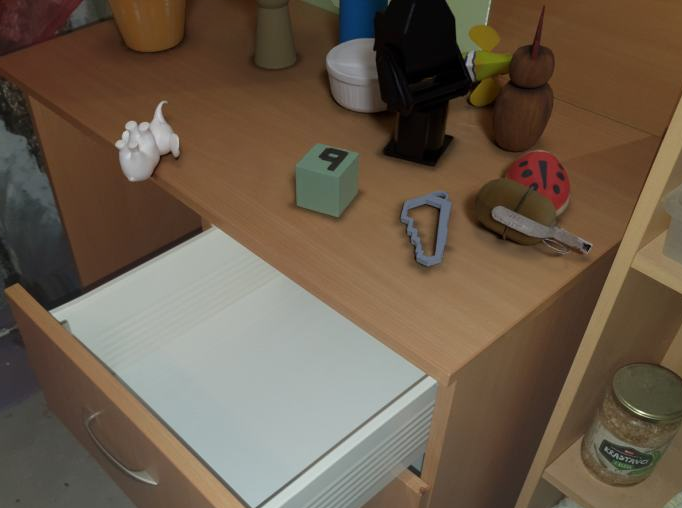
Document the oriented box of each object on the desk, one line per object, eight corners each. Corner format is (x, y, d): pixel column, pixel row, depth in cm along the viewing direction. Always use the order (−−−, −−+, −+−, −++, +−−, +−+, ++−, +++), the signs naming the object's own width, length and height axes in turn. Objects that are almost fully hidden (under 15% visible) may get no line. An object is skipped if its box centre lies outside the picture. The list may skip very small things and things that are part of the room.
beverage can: (384, 48, 104) (390, -42, 95) (384, 69, 99) (390, -24, 91) (339, 48, 105) (340, -41, 96) (337, 68, 100) (338, -24, 91)
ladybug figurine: (560, 168, 80) (569, 141, 77) (574, 228, 74) (585, 200, 71) (498, 165, 80) (506, 138, 78) (507, 224, 74) (515, 196, 71)
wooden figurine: (506, 124, 88) (531, -4, 77) (551, 138, 85) (583, 7, 75) (479, 148, 84) (501, 17, 74) (524, 164, 82) (555, 30, 71)
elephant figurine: (131, 81, 84) (149, 124, 90) (88, 154, 79) (109, 195, 84) (188, 85, 82) (203, 128, 87) (148, 160, 77) (166, 202, 82)
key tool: (393, 268, 71) (445, 269, 69) (392, 261, 70) (445, 261, 69) (405, 198, 79) (452, 197, 77) (405, 191, 78) (452, 190, 77)
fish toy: (515, 102, 85) (536, 100, 94) (514, 14, 82) (536, 21, 91) (395, 114, 92) (425, 112, 102) (391, 34, 90) (423, 39, 99)
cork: (303, 63, 102) (301, -20, 94) (263, 72, 100) (257, -11, 92) (287, 47, 106) (284, -34, 98) (248, 55, 104) (242, -26, 96)
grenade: (472, 213, 76) (578, 268, 73) (456, 225, 71) (569, 283, 68) (498, 162, 73) (610, 216, 70) (483, 170, 68) (603, 228, 65)
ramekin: (343, 124, 89) (344, 84, 85) (313, 85, 97) (313, 46, 93) (426, 108, 91) (431, 67, 87) (391, 70, 99) (393, 31, 95)
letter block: (338, 217, 76) (338, 175, 72) (296, 206, 78) (294, 163, 74) (358, 193, 79) (359, 151, 75) (317, 182, 81) (316, 140, 77)
